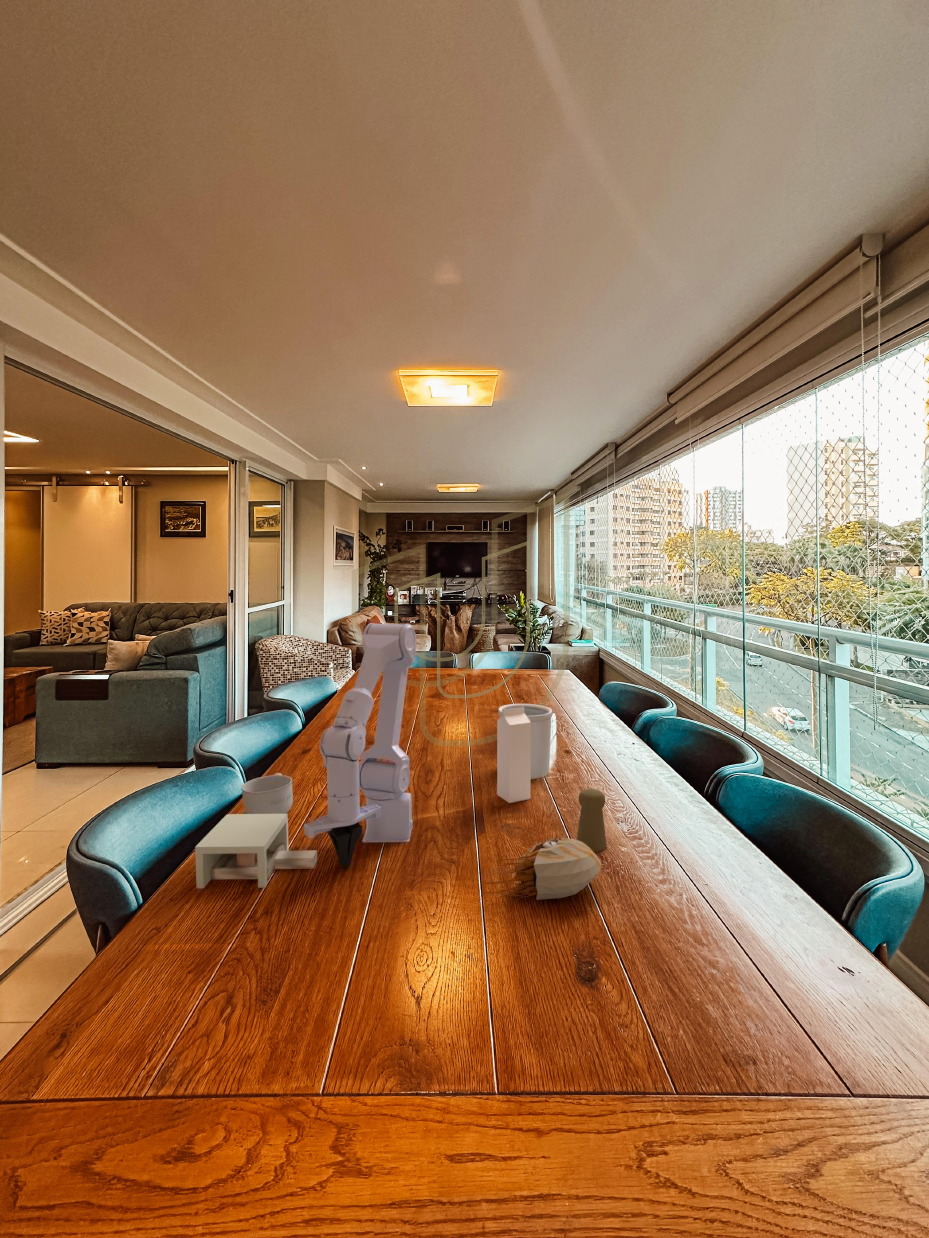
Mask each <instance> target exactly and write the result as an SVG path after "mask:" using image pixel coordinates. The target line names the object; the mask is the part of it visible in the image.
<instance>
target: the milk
mask: <svg viewBox="0 0 929 1238" xmlns="http://www.w3.org/2000/svg"><path fill="white" fill-rule="evenodd" d="M496 724H497V725H496V726H497V727H496V728H497V729H496V730H497V731H496V734H497V735H496V737H497V738H496V739H497V740H496V743H497V745H496V747H497V748H496V750H497V751H496V755H497V756H496V760H497V761H496V763H497V766H496V771H497V776H496V777H497V779H496V780H497V782H496V783H497V784H496V787H497V788H496V793H497V795H496V796H498V797H500V798H501V799H503V800H504V801H506V802H507V803H509V804H511V803H517V802H522V801H526V800H531V779H530V777H531V722H530V721H529V719H528V718H527V716H526V715H525V713H524V707H519V708H510V709H504V710H503V716H502V717H500V718H499V717H498V718H497V720H496Z"/></svg>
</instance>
